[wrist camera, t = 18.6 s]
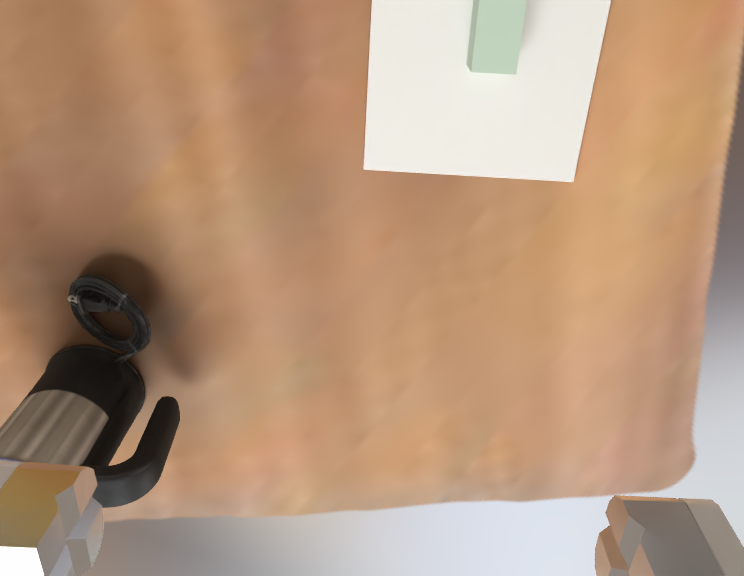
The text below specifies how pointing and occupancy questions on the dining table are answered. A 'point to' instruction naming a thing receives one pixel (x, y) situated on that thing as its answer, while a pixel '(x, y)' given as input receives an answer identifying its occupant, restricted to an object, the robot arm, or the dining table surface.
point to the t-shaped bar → (495, 36)
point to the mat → (480, 91)
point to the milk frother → (94, 404)
